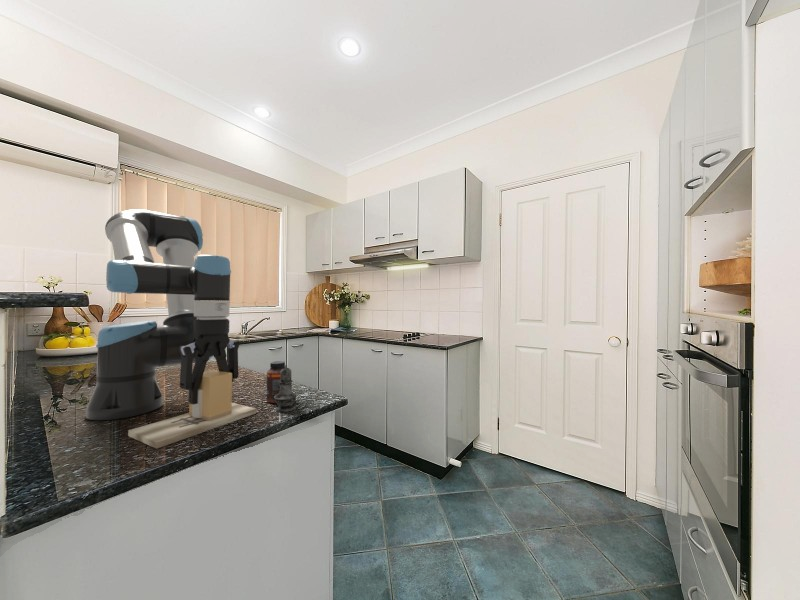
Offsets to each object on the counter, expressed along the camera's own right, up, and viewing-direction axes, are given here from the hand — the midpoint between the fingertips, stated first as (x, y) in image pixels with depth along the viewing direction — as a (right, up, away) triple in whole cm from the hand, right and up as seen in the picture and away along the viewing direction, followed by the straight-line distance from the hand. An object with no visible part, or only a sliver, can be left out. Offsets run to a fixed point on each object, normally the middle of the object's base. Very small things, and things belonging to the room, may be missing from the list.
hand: (210, 412), depth 74 cm
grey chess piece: (+16, -2, +8) cm, 18 cm away
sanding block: (0, -1, 0) cm, 1 cm away
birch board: (-1, -2, -3) cm, 3 cm away
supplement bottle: (+10, -2, +15) cm, 18 cm away
